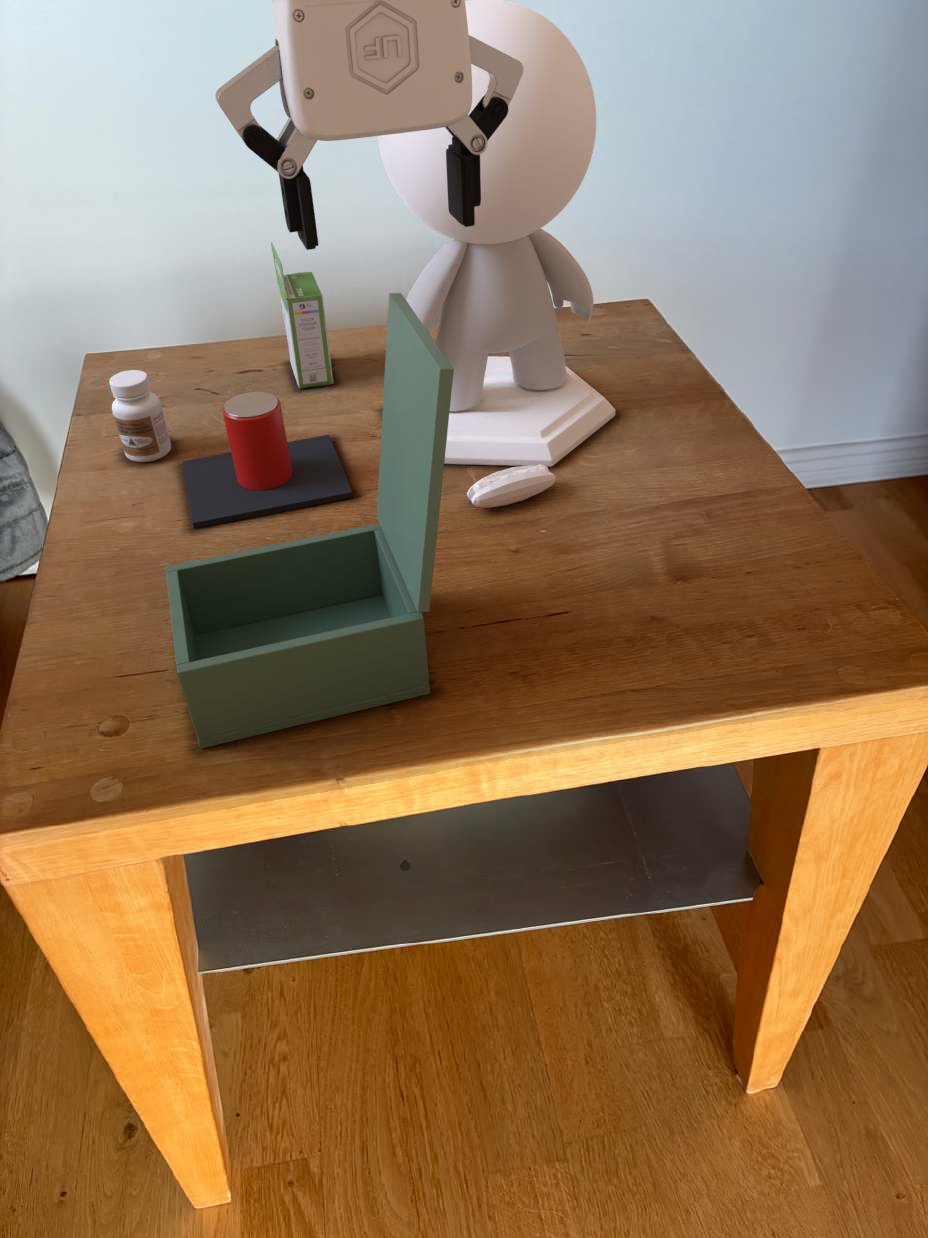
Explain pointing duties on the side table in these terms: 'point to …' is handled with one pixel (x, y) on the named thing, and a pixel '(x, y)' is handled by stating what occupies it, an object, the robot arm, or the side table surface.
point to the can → (257, 440)
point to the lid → (412, 446)
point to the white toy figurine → (508, 252)
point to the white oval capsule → (510, 486)
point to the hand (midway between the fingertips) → (386, 230)
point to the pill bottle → (139, 417)
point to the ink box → (305, 327)
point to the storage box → (294, 634)
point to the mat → (227, 500)
